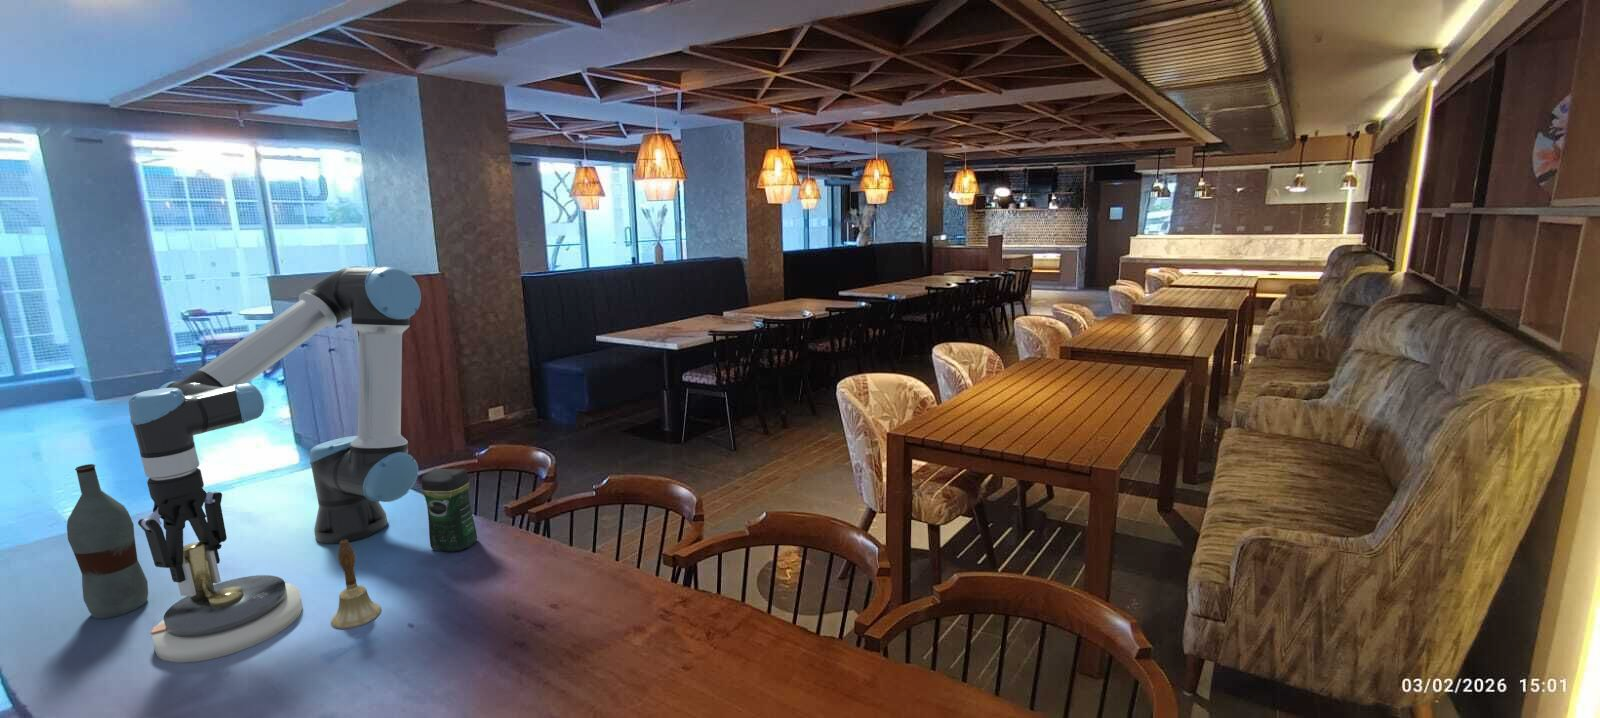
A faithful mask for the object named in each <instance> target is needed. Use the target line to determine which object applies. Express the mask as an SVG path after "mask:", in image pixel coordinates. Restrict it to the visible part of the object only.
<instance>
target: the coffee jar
mask: <svg viewBox="0 0 1600 718" xmlns="http://www.w3.org/2000/svg"><path fill="white" fill-rule="evenodd" d="M467 471H468V470H466V469H464V468H460V469H456V468H453V469H452V468H433V469H431V470H428V471H426V472H425V473H423V474H422V477H421V491H422V494H423V496H424V498H425V499H424V500H425V503H426V508H427V517H428V534H429V535H428V537H429V544H430V545H429V546H430V548H431V549H432V550H434V551H440V552H458V551H461V550H464V549H467V548H470V547H471V546H473V544H475V543H476V542H477V539H478V534H477V533H478V532H477V528H476V525H475V519H474V516H473V512H472V507H471V503H470V496H469V491H470V485H471V483H470V482H471V481H470V478H469V475H468V472H467Z"/></svg>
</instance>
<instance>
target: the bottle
mask: <svg viewBox="0 0 1600 718" xmlns="http://www.w3.org/2000/svg"><path fill="white" fill-rule="evenodd" d="M74 470H75V471H76V476H77V480H78V484H79V488H80V493H81V495H80V497H79V498H78V500H77V502H76V504H75V506H74V507H73V509H72V511H71V513H70V514H69V516H68V518H67V522H66V531H67V532H66V533H67V541H68V543H69V545H70V547H71V550H72V552H73V555H74V557H75V561H76V562H77V566H78V567H79V570H80V573H81V586H82V587H81V588H82V597H83V602H84V604H85V606H86V608H87V610H88V612H89V613H90V615H91V616H92V617H93V618H95V619H99V620H100V619H101V618H102V619H110V617H111V618H114V617H113V616H115V617H118V615H119V616H122V615H124V614H128V613H130V612H129V611H131V612H133V611H135V610H137V609H139V608H141V607H143V605H145V604H146V603H147V601H148V599H149V598H148V596H149V587H148V586H149V584H148V579H147V577H146V575H145V573H144V570H143V568H142V566H141V564H140V562H139V559H138V553H137V545H136V538H135V527H134V522H133V519H132V518H131V516H130V512H129V511H128V510H127V508H126V507H125V505H124V504H122V503H121V502H119V501H118V500H116V499H115V498H113V497H112V496H110V494H107V492H104V490H102V488H101V485H100V482H99V478H98V475H97V471H96V464H94V463H90V464H89V463H88V464H83V465H80V466H77V467H75V469H74ZM145 602H146V603H145ZM144 603H145V604H144ZM140 606H141V607H140ZM138 607H139V608H138ZM132 610H133V611H132ZM127 612H128V613H127ZM121 614H122V615H121Z"/></svg>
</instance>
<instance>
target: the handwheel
mask: <svg viewBox="0 0 1600 718" xmlns="http://www.w3.org/2000/svg"><path fill="white" fill-rule="evenodd" d="M183 562H185V563H189V566H190V570H191V574H192V578H193V582H194V587H195V591H196V595H195V596H193V597H191V596H184V597H183V598H181V599H180V600H178V601H177V602H175V603H174V604H173V605H171V606H170V607H169V608H168V609H167V610H166V612H165V613H164V615H163V619H164V623H165V627H166V631H167V632H168V633H169V634H170V635H173V636H177V637H200V636H206V635H212V634H216V633H220V632H224V631H228V630H231V629H234V628H237V627H240V626H243V625H245V624H248V623H250V622H252V621H255V620H257V619H259V618H261V617H263V616H264V615H266V614H268V613H270V612H271V611H273V610H274V609H275V608H277V607H278V606H279V605H280V604H281V603H282V602H283V601H284V600H285V598H286V596H287V591H286V586H285V583H286V581H284V579H283V578H282V577H279V576H276V575H267V574H262V575H261V574H257V575H249V576H242V577H238V578H232V579H228V580H225V581H221V582H219V583H213V581H212V576H211V572H210V567H209V562H208V558H207V553H206V549H205V544H204V543H203V542H199V541H198V542H196V541H195V542H191V543H187V544H185V545H183ZM163 619H162V620H163Z"/></svg>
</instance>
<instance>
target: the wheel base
mask: <svg viewBox="0 0 1600 718" xmlns="http://www.w3.org/2000/svg"><path fill="white" fill-rule="evenodd" d="M285 586H286V591H287V596H286V598H285V600H284V601H283V602H282V603H281V604H280V605H279V606H278V607H277V608H275V609H274V610H273V611H271V612H270V613H268V614H266V615H264V616H263V617H261V618H259V619H257V620H255V621H252V622H250V623H248V624H245V625H243V626H240V627H237V628H234V629H231V630H228V631H224V632H220V633H216V634H212V635H206V636H200V637H177V636H173V635H170V634H169V633H168V632H167V631H166V627H165V623H164V619H162V620H160V622H159V623H157V624H156V625H154V626H153V628H152V629H151V632H150V634H151V638H152V643H153V648H154V651H155V655H156V656H157V657H158V658H159V659H160V660H163V661H166V662H169V663H182V664H183V663H195V662H196V663H197V662H202V661H207V660H208V661H209V660H213V659H216V658H220V657H225V656H228V655H232V654H236V653H238V652H241V651H243V650H246V649H248V648H251V647H254V646H257V645H258V644H260V643H263V642H265V641H267V640H268V639H271V638H273V637H275V636H276V635H277V634H279V633H281V632H282V631H284V630H285V629H287V628H288V627H289V626H290V625H292V624H293V623H294V622H295V621H296V620H297V619H298V618H299V616H300V615H301V613H302V611H303V601H302V598H301V592H300V591H301V590H299V588H298V586H296V585H294V584H292V583H289V582H285Z"/></svg>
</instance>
